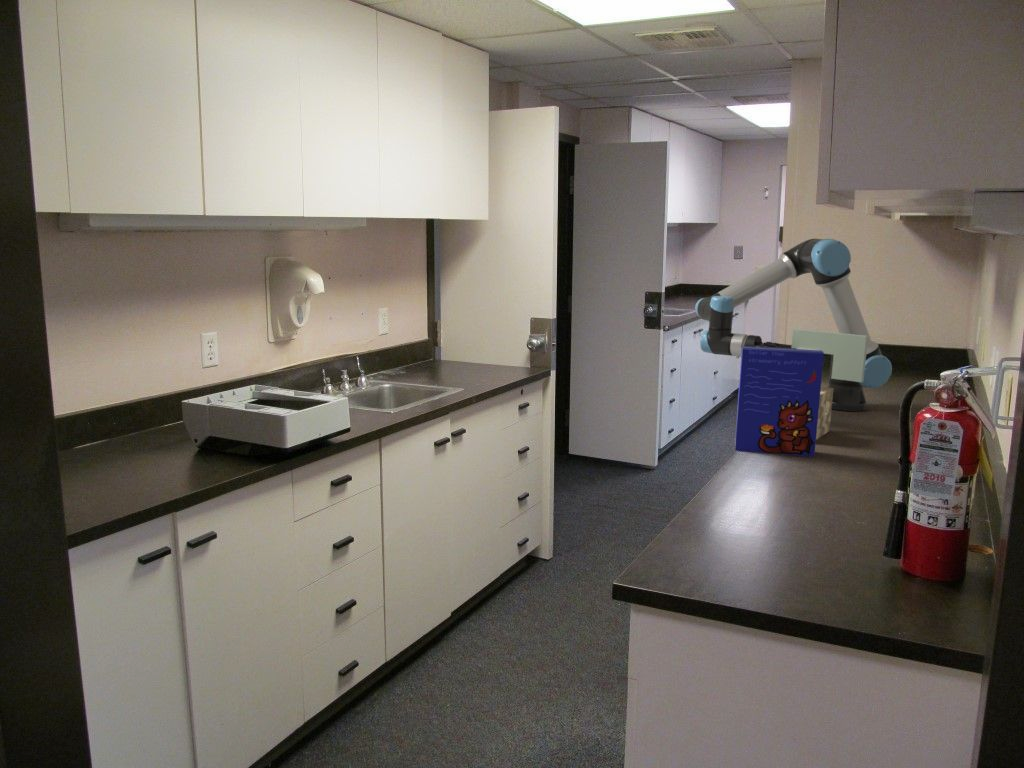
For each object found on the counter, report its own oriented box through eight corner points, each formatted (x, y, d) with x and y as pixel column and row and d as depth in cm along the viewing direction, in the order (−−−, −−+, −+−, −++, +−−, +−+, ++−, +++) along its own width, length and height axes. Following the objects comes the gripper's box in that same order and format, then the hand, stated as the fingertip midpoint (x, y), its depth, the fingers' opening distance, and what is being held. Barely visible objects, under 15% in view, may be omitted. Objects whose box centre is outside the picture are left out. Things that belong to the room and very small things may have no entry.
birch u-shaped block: (821, 429, 265) (825, 387, 262) (829, 430, 263) (833, 388, 261) (802, 442, 249) (806, 397, 246) (810, 443, 248) (814, 398, 245)
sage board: (789, 373, 262) (793, 329, 260) (791, 372, 264) (795, 329, 262) (861, 382, 250) (866, 336, 247) (863, 381, 251) (868, 335, 249)
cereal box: (811, 451, 239) (821, 349, 233) (814, 456, 233) (823, 352, 228) (734, 445, 244) (742, 345, 238) (735, 450, 238) (742, 348, 233)
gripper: (754, 354, 278) (825, 362, 264) (737, 360, 265) (811, 369, 252) (756, 332, 276) (828, 339, 262) (739, 337, 264) (813, 344, 250)
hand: (819, 354), depth 257 cm, fingers closed on sage board, 2 cm apart
